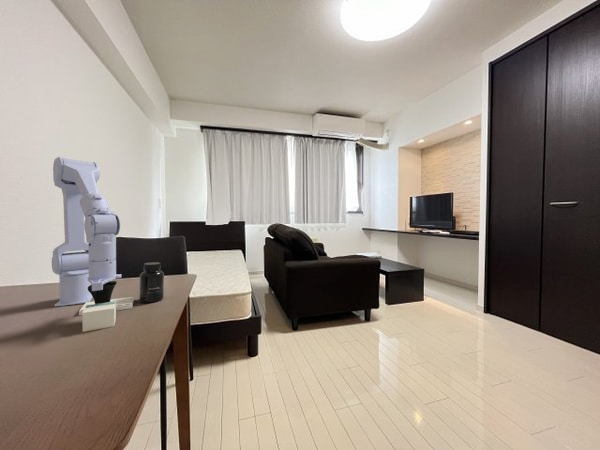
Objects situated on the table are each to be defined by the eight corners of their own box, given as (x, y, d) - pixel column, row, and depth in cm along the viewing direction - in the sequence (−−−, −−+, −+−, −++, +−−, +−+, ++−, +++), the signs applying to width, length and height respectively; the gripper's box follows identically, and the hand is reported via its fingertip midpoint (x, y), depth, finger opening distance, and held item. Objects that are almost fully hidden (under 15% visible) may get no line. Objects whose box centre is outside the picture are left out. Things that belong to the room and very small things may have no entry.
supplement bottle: (152, 304, 78) (152, 265, 78) (134, 302, 79) (133, 264, 79) (168, 297, 85) (168, 262, 84) (151, 296, 86) (151, 261, 86)
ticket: (86, 306, 75) (86, 302, 75) (134, 300, 81) (134, 296, 81) (78, 315, 68) (78, 310, 68) (131, 308, 74) (131, 304, 74)
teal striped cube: (86, 322, 64) (86, 304, 64) (115, 317, 67) (115, 300, 67) (82, 331, 59) (82, 312, 59) (114, 326, 62) (114, 307, 62)
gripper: (117, 263, 62) (117, 317, 63) (124, 255, 75) (124, 300, 75) (80, 265, 59) (80, 323, 59) (94, 256, 71) (94, 304, 72)
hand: (103, 310), depth 67 cm, fingers closed
